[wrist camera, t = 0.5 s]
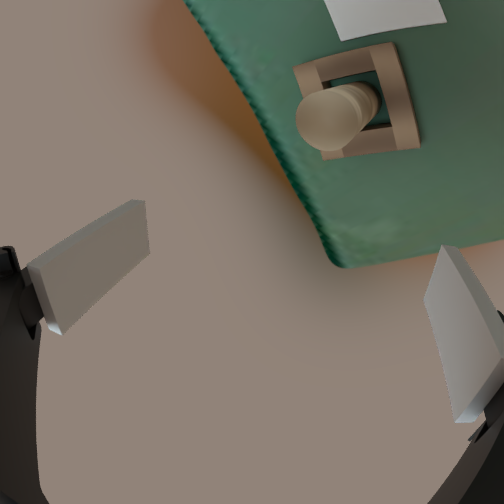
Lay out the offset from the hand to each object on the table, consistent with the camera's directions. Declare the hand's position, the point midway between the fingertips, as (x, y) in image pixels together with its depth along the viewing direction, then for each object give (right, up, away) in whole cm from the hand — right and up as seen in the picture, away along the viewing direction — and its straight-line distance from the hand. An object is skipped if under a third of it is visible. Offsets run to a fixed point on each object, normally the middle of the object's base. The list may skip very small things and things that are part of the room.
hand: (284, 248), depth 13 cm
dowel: (+11, +16, +17) cm, 26 cm away
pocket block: (+11, +16, +17) cm, 26 cm away
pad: (+11, +27, +8) cm, 31 cm away
